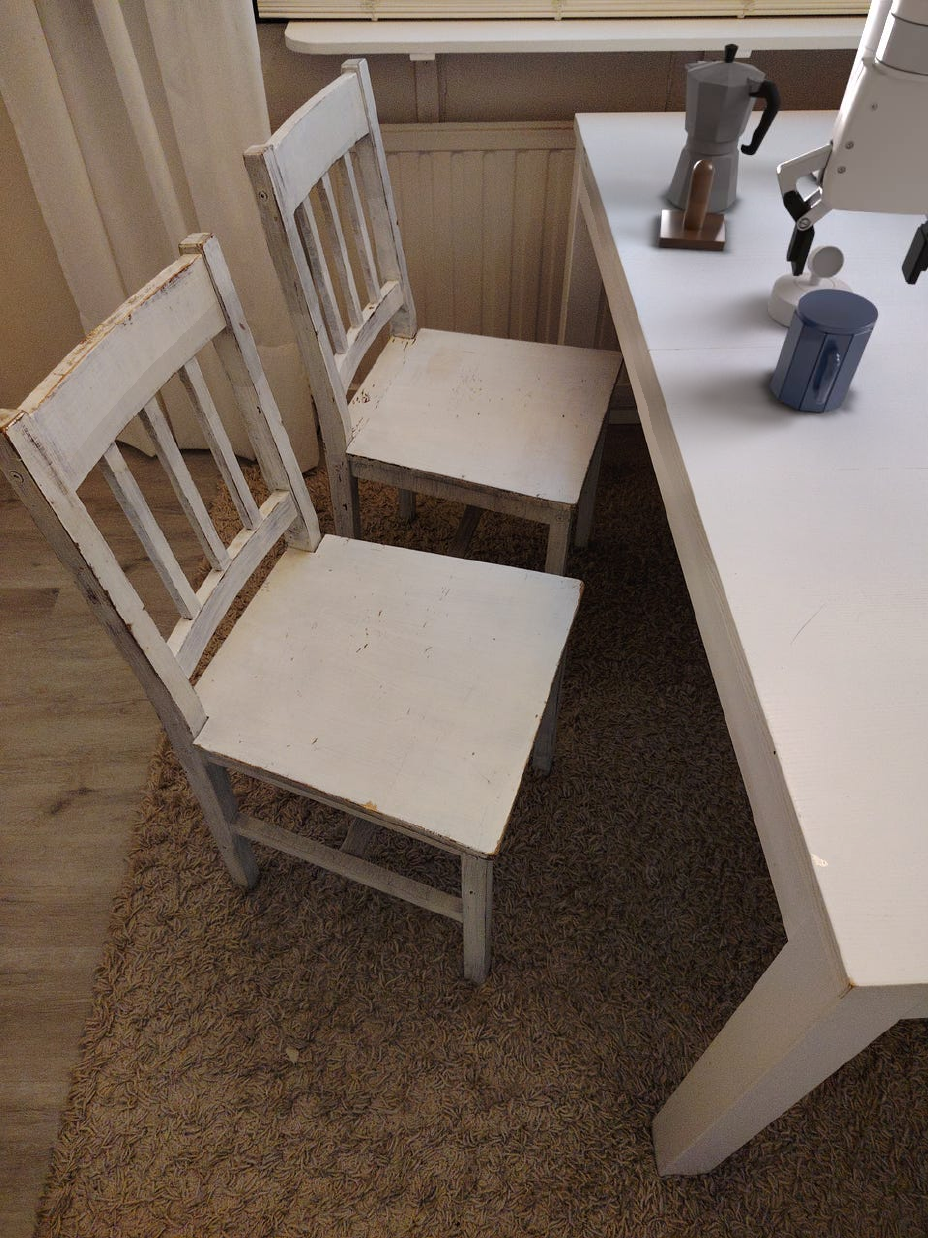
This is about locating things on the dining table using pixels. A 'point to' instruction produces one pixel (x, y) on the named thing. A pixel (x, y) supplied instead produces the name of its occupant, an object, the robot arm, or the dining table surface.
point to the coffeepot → (721, 124)
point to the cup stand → (695, 216)
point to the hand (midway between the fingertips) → (851, 273)
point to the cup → (823, 349)
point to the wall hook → (806, 282)
